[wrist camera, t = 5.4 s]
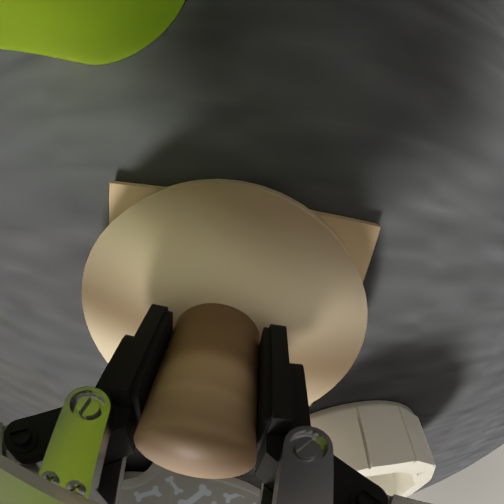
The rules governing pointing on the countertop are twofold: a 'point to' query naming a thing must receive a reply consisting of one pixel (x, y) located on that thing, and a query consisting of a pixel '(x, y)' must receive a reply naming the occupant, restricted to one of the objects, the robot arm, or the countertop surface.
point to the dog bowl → (183, 489)
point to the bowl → (379, 443)
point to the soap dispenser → (84, 27)
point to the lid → (222, 311)
